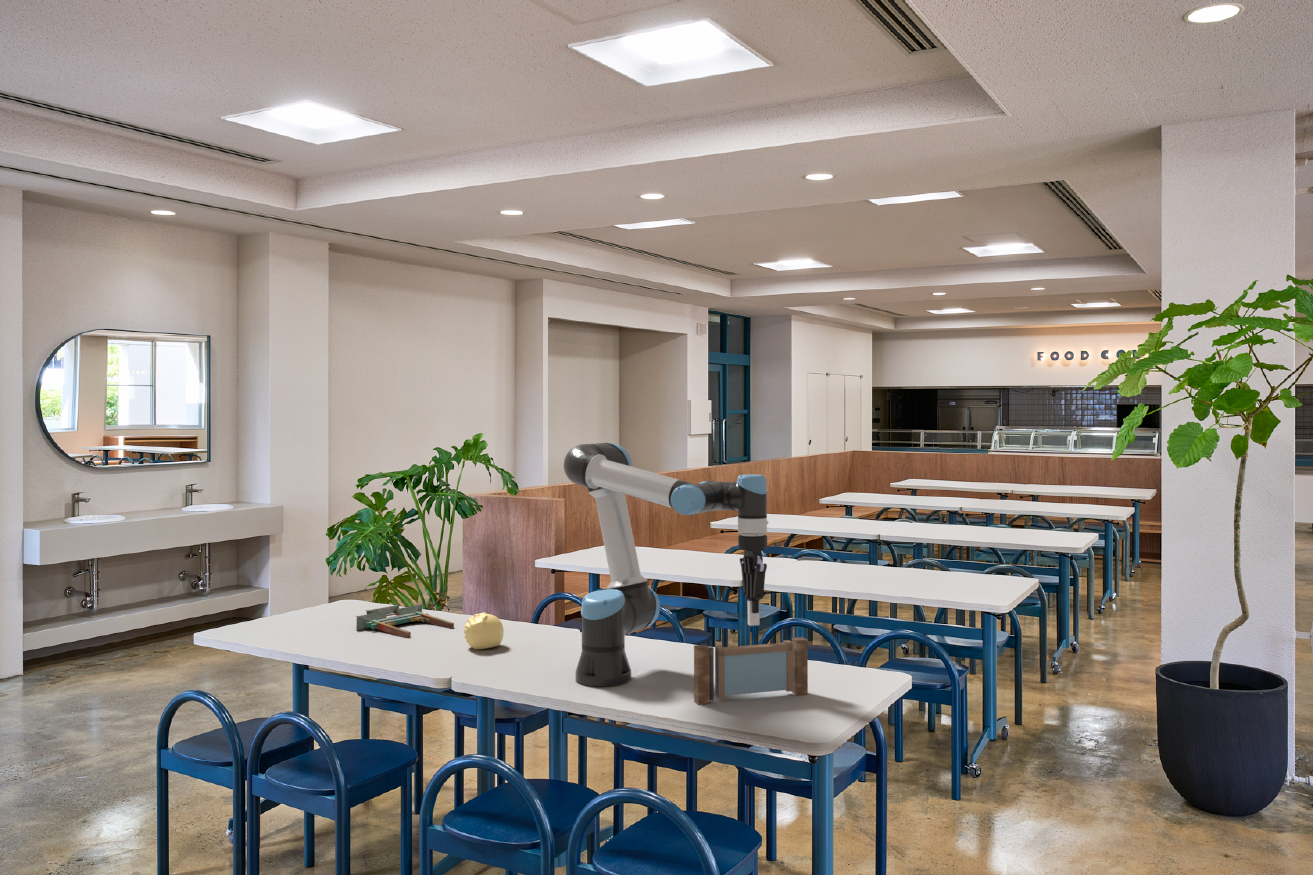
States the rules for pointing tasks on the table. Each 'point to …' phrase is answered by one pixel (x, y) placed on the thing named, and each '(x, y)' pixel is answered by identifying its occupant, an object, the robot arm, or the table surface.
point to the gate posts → (706, 670)
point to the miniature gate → (397, 619)
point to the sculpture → (483, 631)
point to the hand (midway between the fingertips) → (753, 624)
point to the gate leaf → (753, 668)
